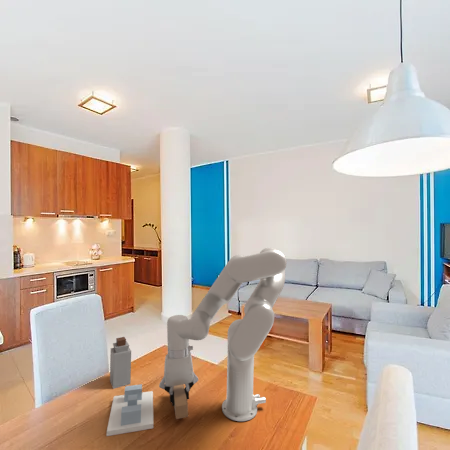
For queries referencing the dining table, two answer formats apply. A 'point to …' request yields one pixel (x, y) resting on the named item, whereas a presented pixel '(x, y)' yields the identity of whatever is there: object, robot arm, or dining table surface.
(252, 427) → the dining table surface
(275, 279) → the robot arm
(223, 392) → the dining table surface
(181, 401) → the long tan plank
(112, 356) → the perfume bottle
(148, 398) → the stand
